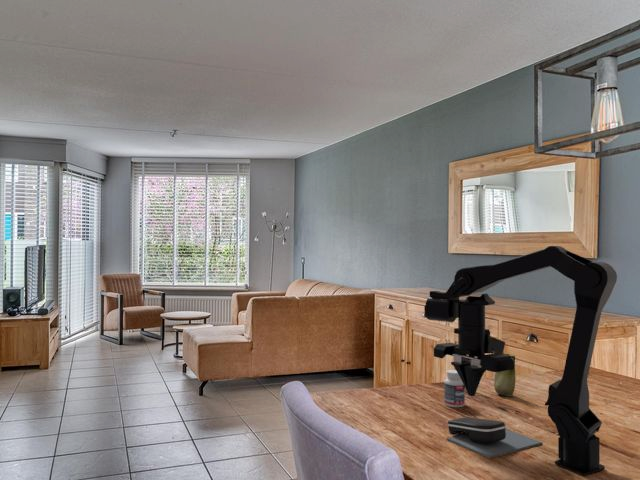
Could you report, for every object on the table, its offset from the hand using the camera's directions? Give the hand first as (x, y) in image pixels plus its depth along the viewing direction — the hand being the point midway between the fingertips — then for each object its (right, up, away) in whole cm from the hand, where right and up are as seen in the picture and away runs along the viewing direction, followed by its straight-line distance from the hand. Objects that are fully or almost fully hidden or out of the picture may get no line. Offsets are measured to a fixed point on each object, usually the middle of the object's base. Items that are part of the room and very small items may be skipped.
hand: (471, 395), depth 119 cm
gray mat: (+4, -10, -2) cm, 11 cm away
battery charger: (-2, -8, +4) cm, 9 cm away
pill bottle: (+3, -10, +26) cm, 27 cm away
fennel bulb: (+19, -10, +35) cm, 41 cm away
